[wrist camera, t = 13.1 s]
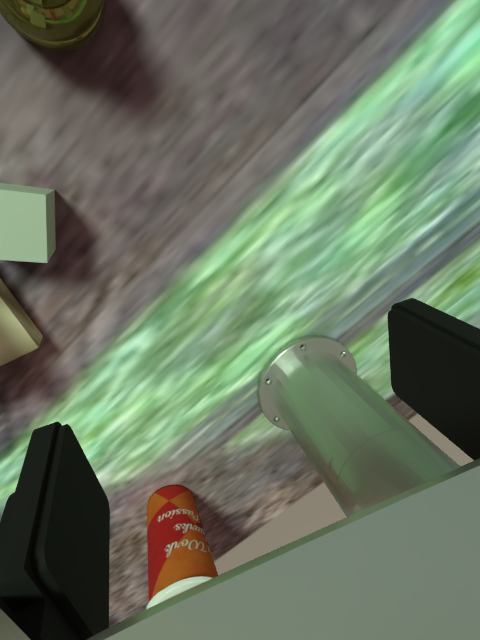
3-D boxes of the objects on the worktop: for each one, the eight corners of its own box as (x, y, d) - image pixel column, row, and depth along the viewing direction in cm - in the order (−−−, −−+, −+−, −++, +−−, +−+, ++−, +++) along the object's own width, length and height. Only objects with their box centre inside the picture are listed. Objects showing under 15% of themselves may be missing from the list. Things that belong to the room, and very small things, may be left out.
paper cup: (212, 490, 50) (246, 600, 37) (175, 532, 51) (196, 654, 38) (163, 468, 46) (181, 582, 34) (123, 514, 47) (128, 642, 35)
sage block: (55, 249, 34) (47, 263, 30) (-11, 244, 33) (-30, 257, 28) (54, 189, 33) (45, 194, 28) (-15, 180, 31) (-37, 185, 27)
